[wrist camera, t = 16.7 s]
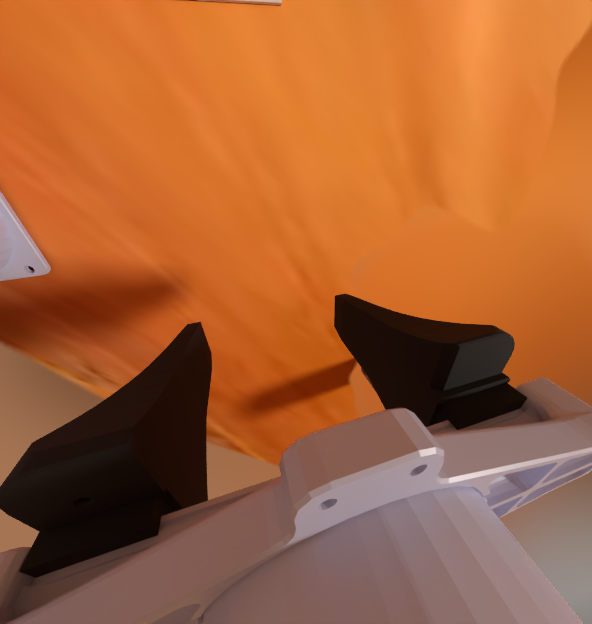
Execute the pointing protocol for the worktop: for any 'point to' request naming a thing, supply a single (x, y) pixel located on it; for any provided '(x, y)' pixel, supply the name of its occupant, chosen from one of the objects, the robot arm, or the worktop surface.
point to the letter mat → (251, 1)
